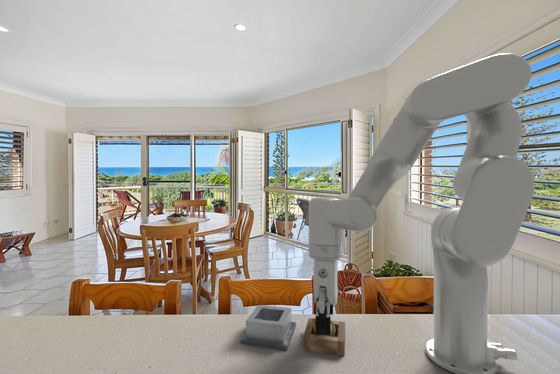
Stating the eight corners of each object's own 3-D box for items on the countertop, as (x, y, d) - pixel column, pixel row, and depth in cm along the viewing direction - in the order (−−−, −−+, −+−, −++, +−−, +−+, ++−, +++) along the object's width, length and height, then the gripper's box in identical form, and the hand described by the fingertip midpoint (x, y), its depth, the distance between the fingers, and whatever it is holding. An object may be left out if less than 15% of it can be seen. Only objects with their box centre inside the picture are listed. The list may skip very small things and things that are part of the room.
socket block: (345, 334, 69) (345, 321, 69) (344, 355, 61) (344, 341, 61) (308, 329, 72) (308, 318, 72) (303, 350, 63) (303, 336, 63)
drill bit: (341, 345, 65) (324, 327, 60) (320, 350, 67) (302, 333, 62) (337, 322, 70) (321, 304, 64) (318, 327, 71) (300, 310, 66)
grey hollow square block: (296, 326, 73) (295, 307, 73) (286, 350, 63) (286, 328, 63) (255, 321, 76) (255, 303, 76) (240, 343, 65) (240, 322, 65)
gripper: (340, 261, 57) (340, 346, 57) (342, 243, 73) (342, 309, 74) (302, 258, 58) (303, 341, 59) (313, 242, 75) (313, 306, 75)
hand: (325, 323), depth 66 cm, fingers open, 9 cm apart
